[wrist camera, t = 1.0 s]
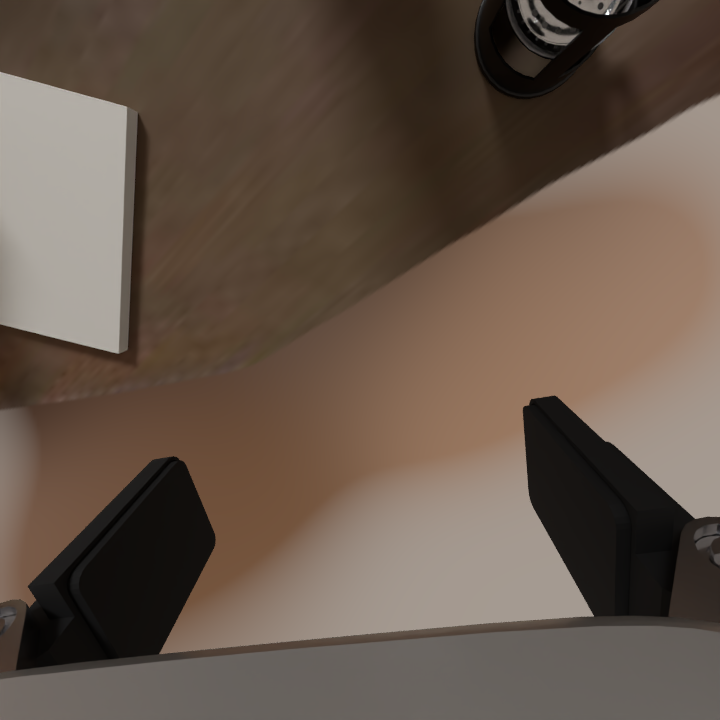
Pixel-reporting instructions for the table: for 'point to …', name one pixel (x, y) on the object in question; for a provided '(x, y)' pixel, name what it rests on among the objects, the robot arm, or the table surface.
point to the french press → (549, 38)
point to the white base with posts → (66, 213)
